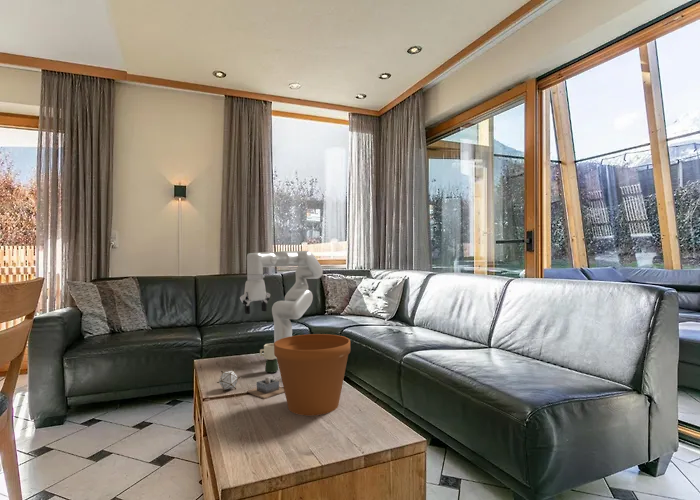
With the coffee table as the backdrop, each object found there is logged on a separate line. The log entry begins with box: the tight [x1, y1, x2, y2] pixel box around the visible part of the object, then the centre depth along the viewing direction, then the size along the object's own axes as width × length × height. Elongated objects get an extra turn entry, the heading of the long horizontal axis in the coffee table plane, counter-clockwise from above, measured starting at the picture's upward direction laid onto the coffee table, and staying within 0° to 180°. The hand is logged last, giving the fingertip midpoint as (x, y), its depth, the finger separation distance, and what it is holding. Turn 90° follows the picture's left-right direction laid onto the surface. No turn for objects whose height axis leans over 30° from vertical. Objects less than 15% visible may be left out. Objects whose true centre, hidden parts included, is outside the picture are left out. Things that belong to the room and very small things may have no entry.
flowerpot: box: [273, 333, 352, 417], centre depth 145 cm, size 28×28×24 cm
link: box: [256, 378, 280, 394], centre depth 160 cm, size 6×6×4 cm
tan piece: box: [246, 376, 285, 400], centre depth 160 cm, size 12×12×6 cm
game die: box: [216, 368, 241, 392], centre depth 164 cm, size 9×8×10 cm
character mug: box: [259, 342, 279, 373], centre depth 188 cm, size 11×7×13 cm, turn 109°
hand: (255, 312), depth 194 cm, fingers open, 9 cm apart
